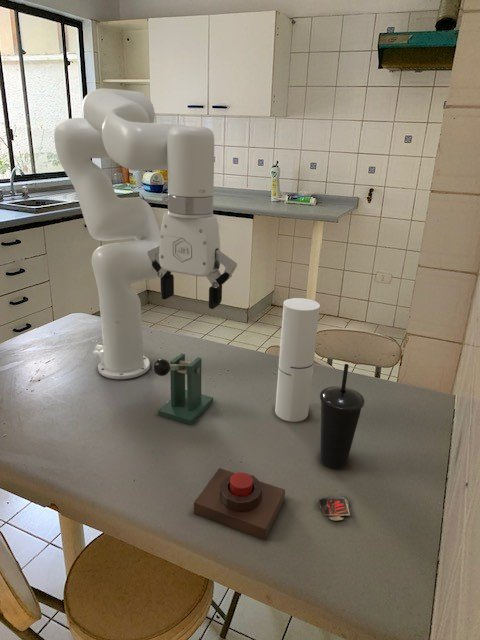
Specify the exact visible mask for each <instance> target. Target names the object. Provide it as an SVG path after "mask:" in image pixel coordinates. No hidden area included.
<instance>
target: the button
mask: <svg viewBox="0 0 480 640" xmlns="http://www.w3.org/2000/svg"><path fill="white" fill-rule="evenodd" d="M234 473H235V474H234V475H232V476H231V478H230V491H231V493H232V494H233V495H235V496H238V497H244V496H248V495H249V494H251V492H252V488H253V479H252V477H251V476H250V475H251V474H250V473H247V472H234Z"/></svg>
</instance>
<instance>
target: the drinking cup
mask: <svg viewBox="0 0 480 640" xmlns="http://www.w3.org/2000/svg"><path fill="white" fill-rule="evenodd" d="M343 366H344V367H343V374H342V382H341V386H339V385H338V386H337V385H336V386H335V385H334V386H328V387H325V388H323V389H322V390H321V391H320V393H319V400H320V446H319V447H320V448H319V449H320V452H319V456H320V458H319V459H320V462H321V464H322V465H323V466H325V468H328V469H331V470H342V469H344V468H345V467H347V463H348V460H349V456H350V453H351V448H352V444H353V442H354V439H355V438H354V437H355V433H356V429H357V426H358V422H359V419H360V415H361V412H362V408H363V407H364V406H365V402H366V401H365V398H364V396H363V394H361V393H360V392H359V391H357V390H355V389H354V388H353V389H352V388H351V387H347V386H346V385H347V380H348V372H349V366H350V365H349V364H348V363H344V365H343Z"/></svg>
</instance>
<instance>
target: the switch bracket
mask: <svg viewBox="0 0 480 640" xmlns="http://www.w3.org/2000/svg"><path fill="white" fill-rule="evenodd" d="M179 361H186V354H185V353H182V352H181V353H179V354H178V355H177V356H175V357H174V358H172V359H171V360H170V361H169V364H179ZM190 362H191V363H190V364H189V365H187V374H183V373H179V372H177V371H178V370H170V371H169V374H170V376H169V377H170V399H169V400H168V401H166V402H165V404H163V405H162V406H161V407H160V408H159V409H158V410H157V416H159V417H163V418H166V419H170V420H173V421H176V422H180V423H183V424H186V425H190V426H192V425H193V424H194V423H195V422H196V421H197V420H198V419H199V418H200V416H201V415H202V414H203V413H204V412H205V411H206V410H207V409H208V408H209V407H210V406H211V405H212V404H213V403H214V396H210V395H206V394H203V393H202V358H201V357H199V356H197V357H196V358H195V359H193V360H192V361H190ZM186 387H187V388H186Z"/></svg>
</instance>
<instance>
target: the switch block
mask: <svg viewBox="0 0 480 640" xmlns="http://www.w3.org/2000/svg"><path fill="white" fill-rule="evenodd" d="M235 473H236V472H233V471H230V470H227V469H224V468H221V467H219V468H218V469H217V470H216V472H215V473H214V474H213V476H212V477H211V479H210V480H209V481H208V483H207V484H206V486H205V487H204V488H203V489H202V491H201V492H200V494H198V497H197V498H196V499H195V500H194V502H193V514H194V515H198V516H200V517H203V518H206V519H208V520H211V521H213V522H216V523H219V524H221V525H224V526H226V527H228V528H232V529H234V530H237V531H240V532H242V533H245V534H247V535H250V536H253V537H256V538H259V539H261V540H262V541H266V540H267V537H268V535H269V533H270V530H271V529H272V527H273V525H274V523H275V520H276V519H277V516H278V514H279V512H280V510H281V508H282V506H283V504H284V502H285V499H286V498H285V497H286V489H285V488H282V487H279V486H275V485H272V484H269V483H266V482H263V481H260V480H259V479H258V478H257V477H256V476H255V475H252V474H249V475H250V476H251V477H252V479H253V488H252V492H251V494H249V495H248V496H244V497H238V496H235V495H233V494H232V493H231V491H230V478H231V476H232V475H234V474H235Z"/></svg>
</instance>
